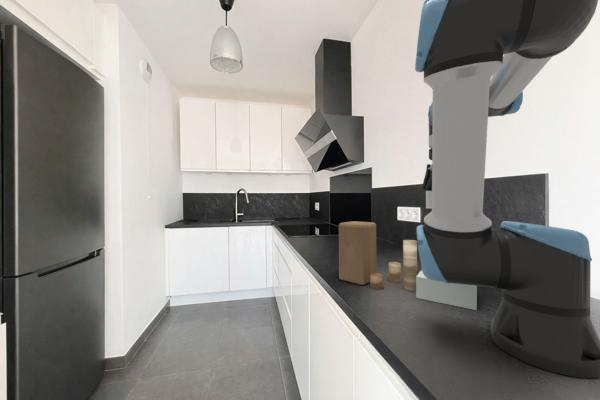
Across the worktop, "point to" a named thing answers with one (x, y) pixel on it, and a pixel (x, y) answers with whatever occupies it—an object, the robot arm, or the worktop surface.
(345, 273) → the wooden block
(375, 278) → the dowel short
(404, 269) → the dowel long
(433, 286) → the socket block
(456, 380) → the worktop surface
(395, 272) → the dowel mid
